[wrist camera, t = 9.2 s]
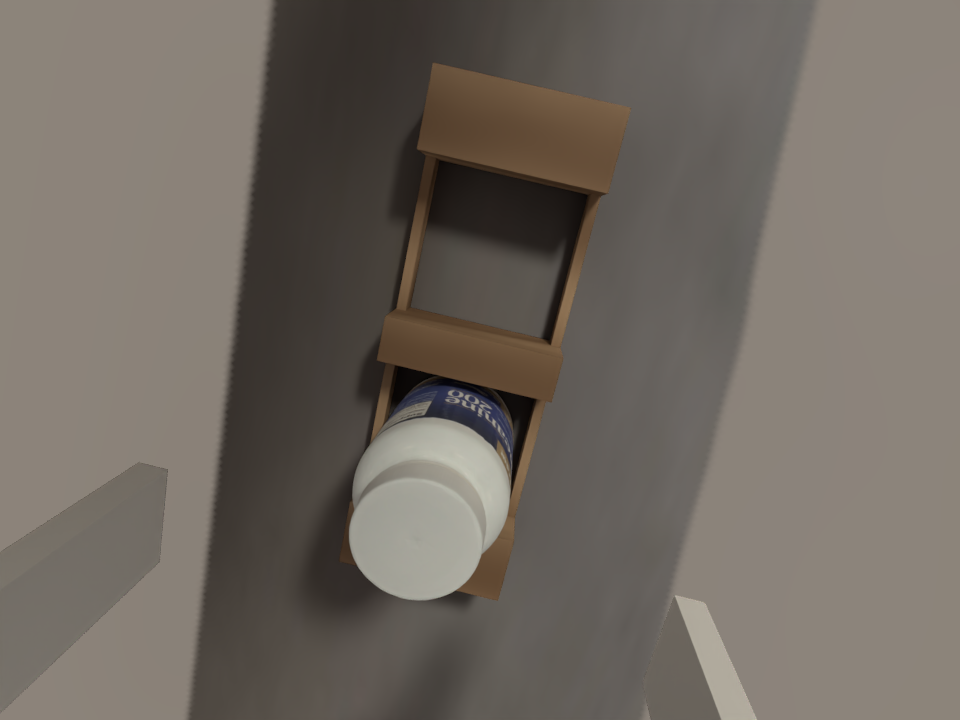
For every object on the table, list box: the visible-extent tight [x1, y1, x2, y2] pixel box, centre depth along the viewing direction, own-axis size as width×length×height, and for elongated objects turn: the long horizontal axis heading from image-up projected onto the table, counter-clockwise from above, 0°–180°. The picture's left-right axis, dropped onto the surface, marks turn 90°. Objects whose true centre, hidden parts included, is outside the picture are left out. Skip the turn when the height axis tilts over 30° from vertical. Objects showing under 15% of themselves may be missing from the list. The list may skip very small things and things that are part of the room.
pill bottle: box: [349, 375, 513, 600], centre depth 22 cm, size 5×5×10 cm
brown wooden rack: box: [339, 63, 631, 601], centre depth 24 cm, size 20×7×3 cm, turn 167°
